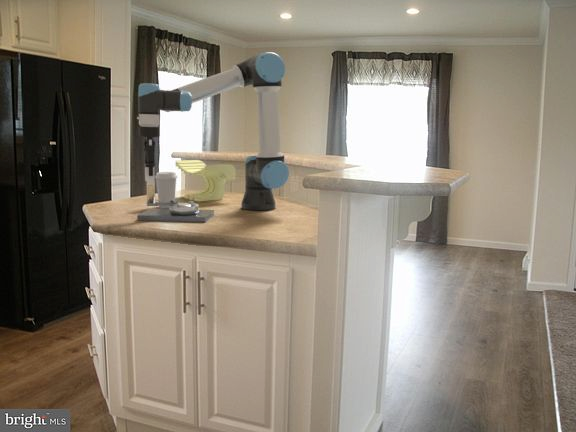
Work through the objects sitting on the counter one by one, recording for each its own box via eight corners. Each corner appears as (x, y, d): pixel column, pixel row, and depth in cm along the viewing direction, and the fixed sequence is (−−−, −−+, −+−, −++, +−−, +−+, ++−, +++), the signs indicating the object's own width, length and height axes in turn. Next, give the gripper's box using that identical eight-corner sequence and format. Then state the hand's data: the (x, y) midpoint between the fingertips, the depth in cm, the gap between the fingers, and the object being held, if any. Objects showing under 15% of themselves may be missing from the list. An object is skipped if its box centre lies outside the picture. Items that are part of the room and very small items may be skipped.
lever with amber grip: (196, 209, 220) (196, 179, 218) (200, 214, 210) (200, 182, 207) (146, 211, 214) (145, 180, 212) (147, 216, 204) (147, 183, 202)
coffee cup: (172, 209, 234) (171, 174, 232) (151, 208, 236) (150, 173, 233) (181, 206, 243) (180, 172, 241) (161, 205, 245) (160, 171, 243)
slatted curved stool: (235, 201, 262) (235, 163, 259) (206, 203, 252) (206, 164, 249) (203, 194, 285) (203, 159, 282) (176, 196, 275) (175, 160, 272)
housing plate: (213, 214, 222) (213, 209, 221) (205, 222, 205) (205, 216, 205) (150, 213, 223) (150, 208, 223) (137, 220, 206) (137, 214, 206)
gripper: (137, 125, 214) (138, 179, 218) (140, 126, 191) (140, 186, 194) (157, 126, 217) (157, 179, 220) (162, 126, 193) (162, 186, 197)
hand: (149, 182), depth 207 cm, fingers open, 13 cm apart
